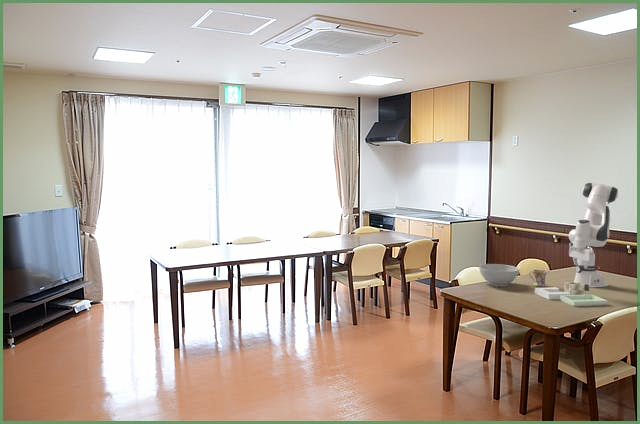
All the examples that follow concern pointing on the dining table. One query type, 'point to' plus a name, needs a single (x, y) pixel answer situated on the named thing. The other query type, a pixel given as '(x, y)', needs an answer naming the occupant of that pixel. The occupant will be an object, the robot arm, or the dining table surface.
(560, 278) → the dining table surface
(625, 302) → the dining table surface
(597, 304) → the tray
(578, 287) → the caddy
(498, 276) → the decorative bowl
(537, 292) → the stand
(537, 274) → the mug
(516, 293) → the dining table surface
